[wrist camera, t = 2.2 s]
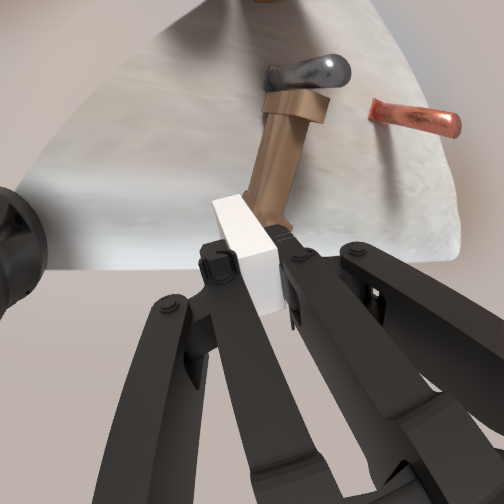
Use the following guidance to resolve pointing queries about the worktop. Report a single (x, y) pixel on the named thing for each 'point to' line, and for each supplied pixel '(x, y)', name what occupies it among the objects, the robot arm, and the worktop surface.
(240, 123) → the worktop surface
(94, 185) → the worktop surface
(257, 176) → the gate
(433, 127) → the gate posts
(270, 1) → the disposable coffee cup
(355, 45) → the worktop surface
